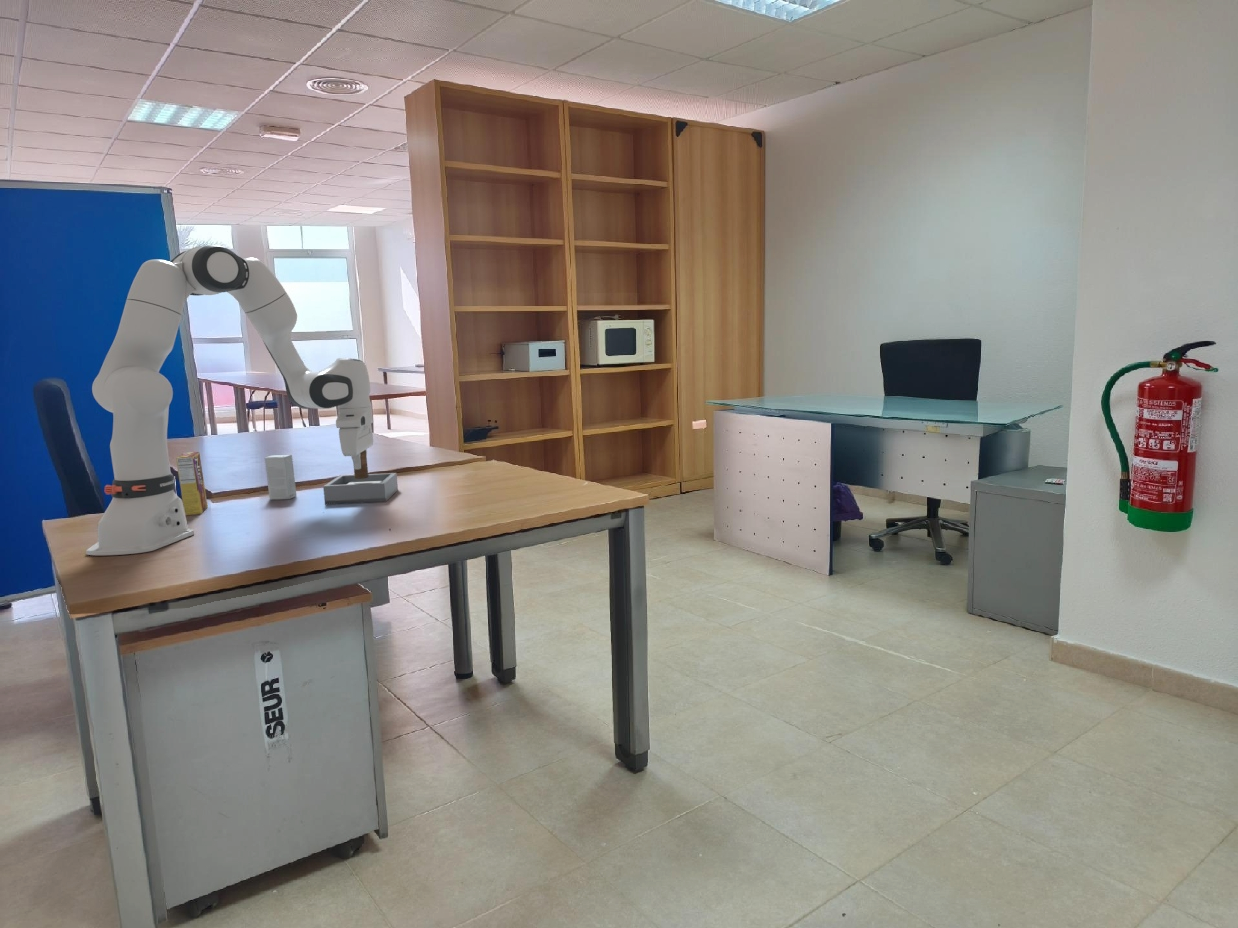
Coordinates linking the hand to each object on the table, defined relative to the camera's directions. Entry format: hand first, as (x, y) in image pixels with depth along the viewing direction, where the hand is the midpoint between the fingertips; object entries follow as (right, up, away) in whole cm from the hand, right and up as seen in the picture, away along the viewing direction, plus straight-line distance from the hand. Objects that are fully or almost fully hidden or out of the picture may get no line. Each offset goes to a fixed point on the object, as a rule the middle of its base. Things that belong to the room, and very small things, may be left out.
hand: (360, 467), depth 219 cm
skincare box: (-23, -9, +4) cm, 25 cm away
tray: (0, -8, +1) cm, 8 cm away
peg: (0, -3, +1) cm, 3 cm away
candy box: (-40, -12, -10) cm, 43 cm away
